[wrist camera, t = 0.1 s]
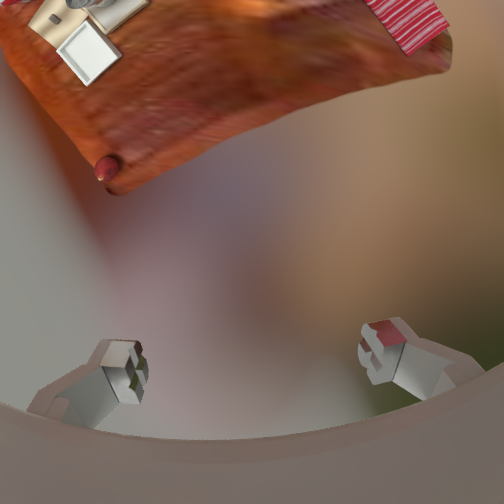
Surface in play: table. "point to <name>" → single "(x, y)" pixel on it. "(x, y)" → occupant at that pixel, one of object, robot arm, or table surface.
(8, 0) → the soda can
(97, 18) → the tray
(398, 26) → the dish towel
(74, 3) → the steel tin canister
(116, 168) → the onion
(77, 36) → the bin
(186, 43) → the table surface
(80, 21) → the tray lid
